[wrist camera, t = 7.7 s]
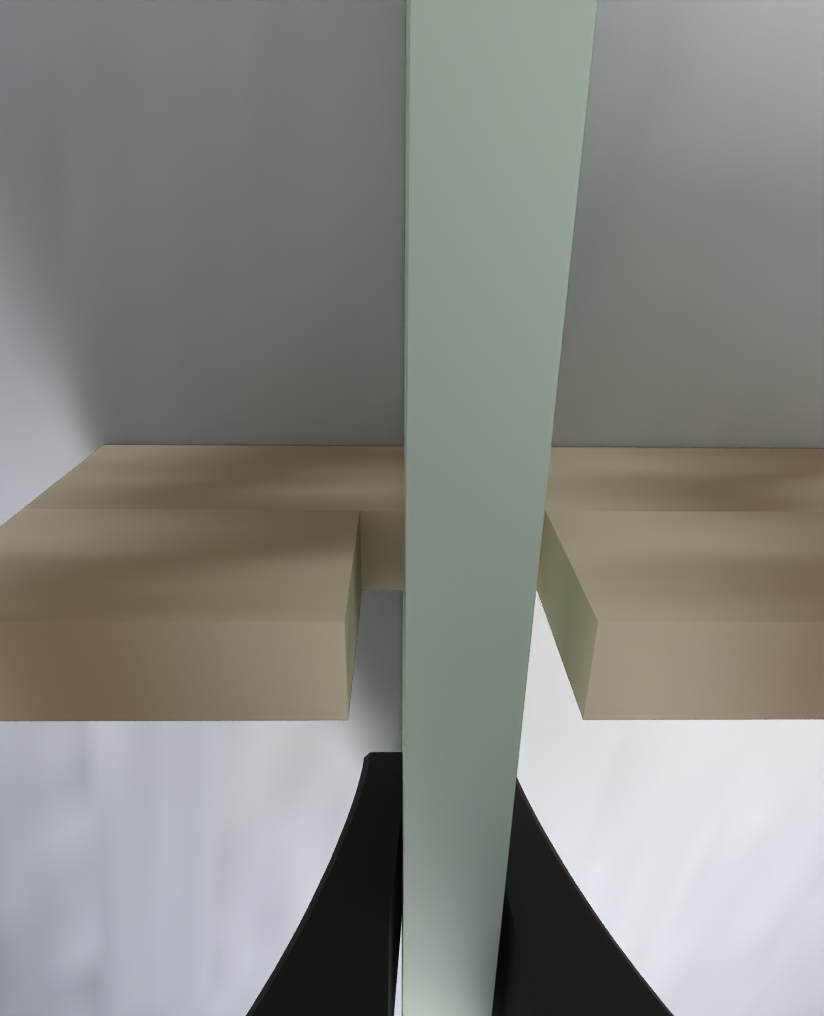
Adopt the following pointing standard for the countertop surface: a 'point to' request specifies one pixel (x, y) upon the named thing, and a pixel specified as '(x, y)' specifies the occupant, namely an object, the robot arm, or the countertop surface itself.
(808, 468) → the maple slat
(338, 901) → the robot arm
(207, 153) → the countertop surface
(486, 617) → the green plate
